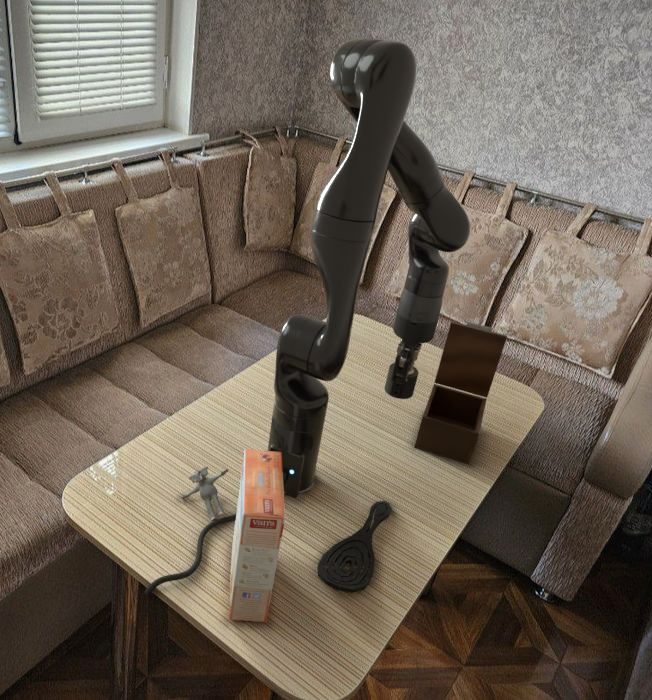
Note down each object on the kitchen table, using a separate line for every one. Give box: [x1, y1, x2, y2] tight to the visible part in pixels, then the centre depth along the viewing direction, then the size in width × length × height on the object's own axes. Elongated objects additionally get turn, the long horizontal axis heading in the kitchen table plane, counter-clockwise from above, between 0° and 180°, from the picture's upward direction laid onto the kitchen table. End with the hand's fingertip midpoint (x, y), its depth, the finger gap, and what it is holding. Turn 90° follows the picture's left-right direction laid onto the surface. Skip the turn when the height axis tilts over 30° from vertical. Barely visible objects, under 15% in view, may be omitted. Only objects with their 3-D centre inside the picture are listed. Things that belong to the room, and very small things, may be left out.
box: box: [413, 383, 487, 466], centre depth 139 cm, size 14×11×8 cm
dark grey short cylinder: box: [384, 362, 419, 400], centre depth 130 cm, size 6×6×5 cm
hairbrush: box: [316, 500, 393, 594], centre depth 111 cm, size 8×4×25 cm
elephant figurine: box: [180, 466, 229, 522], centre depth 116 cm, size 10×6×9 cm
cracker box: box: [228, 448, 286, 623], centre depth 98 cm, size 14×6×21 cm, turn 179°
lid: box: [434, 321, 508, 399], centre depth 141 cm, size 15×11×5 cm
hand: (399, 388), depth 131 cm, fingers closed on dark grey short cylinder, 5 cm apart
